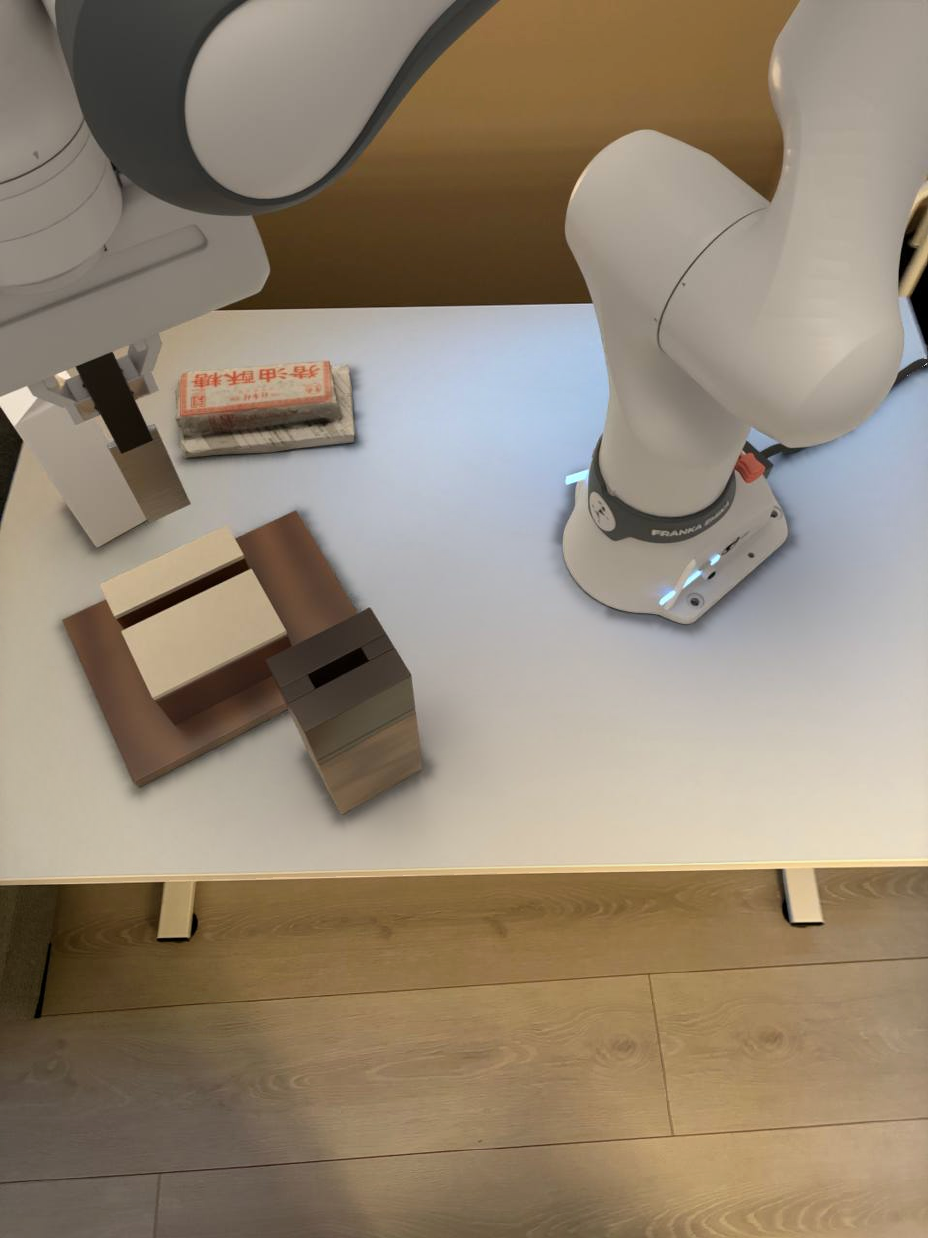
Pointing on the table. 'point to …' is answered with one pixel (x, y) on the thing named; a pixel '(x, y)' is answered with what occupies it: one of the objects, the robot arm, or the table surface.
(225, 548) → the cake slice
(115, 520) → the milk
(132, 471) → the knife
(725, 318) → the robot arm
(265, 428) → the packaged product
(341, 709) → the knife block
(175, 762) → the board
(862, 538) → the table surface
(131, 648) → the cake
